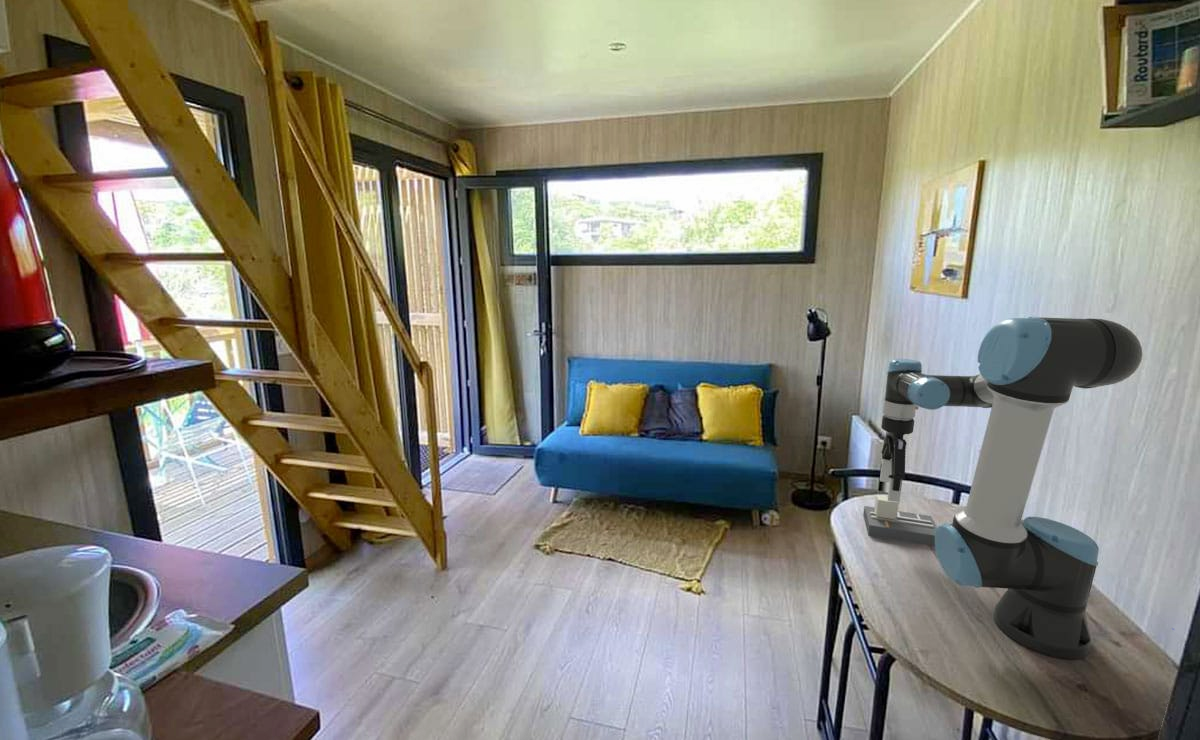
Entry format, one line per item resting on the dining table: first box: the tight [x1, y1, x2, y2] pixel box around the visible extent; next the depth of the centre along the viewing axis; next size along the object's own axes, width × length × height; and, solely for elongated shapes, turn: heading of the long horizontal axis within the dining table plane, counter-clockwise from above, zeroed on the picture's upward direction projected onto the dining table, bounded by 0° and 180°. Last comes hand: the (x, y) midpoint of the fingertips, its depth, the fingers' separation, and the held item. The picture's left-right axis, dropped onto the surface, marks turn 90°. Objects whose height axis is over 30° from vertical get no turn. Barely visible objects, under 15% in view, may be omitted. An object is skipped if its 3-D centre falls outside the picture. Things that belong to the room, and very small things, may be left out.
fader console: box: [862, 505, 938, 547], centre depth 147 cm, size 12×17×4 cm
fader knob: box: [874, 494, 900, 519], centre depth 147 cm, size 4×5×6 cm
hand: (889, 490), depth 146 cm, fingers open, 13 cm apart
